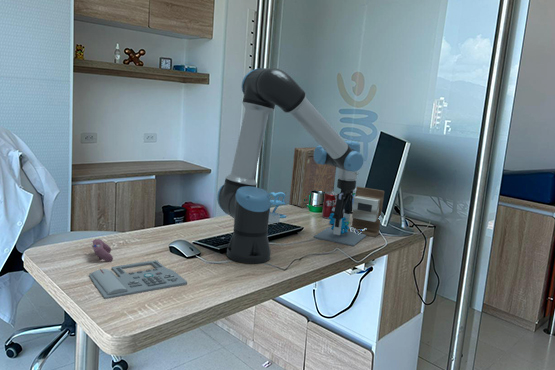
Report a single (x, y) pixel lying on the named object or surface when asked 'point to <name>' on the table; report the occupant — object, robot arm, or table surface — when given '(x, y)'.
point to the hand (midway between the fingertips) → (341, 231)
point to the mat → (340, 237)
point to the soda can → (328, 204)
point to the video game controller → (102, 250)
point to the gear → (343, 224)
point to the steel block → (273, 218)
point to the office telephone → (134, 279)
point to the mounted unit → (367, 210)
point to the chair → (277, 201)
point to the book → (309, 177)
